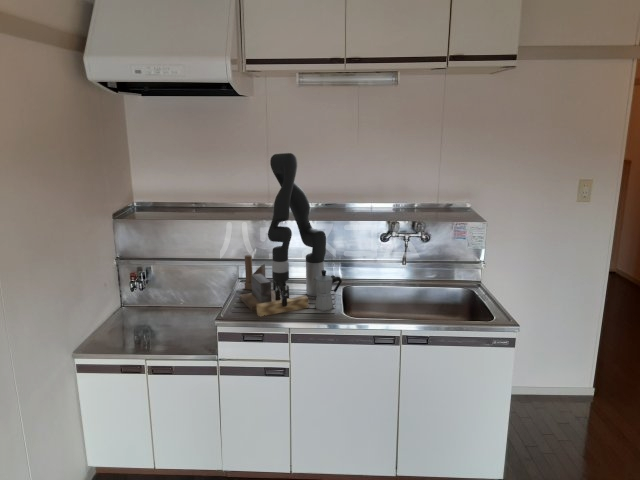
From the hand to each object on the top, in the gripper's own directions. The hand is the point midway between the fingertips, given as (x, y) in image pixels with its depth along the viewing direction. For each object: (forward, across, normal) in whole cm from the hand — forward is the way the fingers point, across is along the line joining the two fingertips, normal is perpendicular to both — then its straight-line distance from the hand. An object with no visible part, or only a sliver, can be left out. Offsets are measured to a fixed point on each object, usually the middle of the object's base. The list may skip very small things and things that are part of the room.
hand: (281, 303), depth 224 cm
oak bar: (+4, 0, -1) cm, 4 cm away
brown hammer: (+4, +33, +2) cm, 33 cm away
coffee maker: (+4, -5, -21) cm, 22 cm away
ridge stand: (+4, +15, +5) cm, 16 cm away
